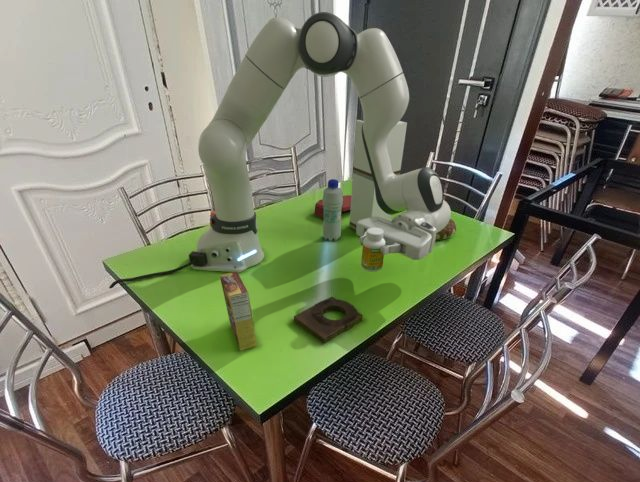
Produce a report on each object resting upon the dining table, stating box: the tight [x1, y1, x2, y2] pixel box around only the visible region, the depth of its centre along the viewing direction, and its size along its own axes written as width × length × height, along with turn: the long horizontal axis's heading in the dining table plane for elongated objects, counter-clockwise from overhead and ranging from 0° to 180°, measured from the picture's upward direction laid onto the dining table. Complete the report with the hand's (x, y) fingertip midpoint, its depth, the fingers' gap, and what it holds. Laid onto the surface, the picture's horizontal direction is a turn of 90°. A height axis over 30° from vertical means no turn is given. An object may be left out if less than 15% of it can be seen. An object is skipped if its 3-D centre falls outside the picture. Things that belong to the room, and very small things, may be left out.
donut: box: [435, 218, 457, 241], centre depth 129 cm, size 14×14×5 cm
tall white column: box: [349, 119, 408, 231], centre depth 122 cm, size 11×11×35 cm
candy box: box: [219, 272, 258, 352], centre depth 80 cm, size 9×4×15 cm, turn 24°
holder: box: [293, 295, 364, 345], centre depth 90 cm, size 14×11×2 cm
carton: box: [313, 194, 351, 220], centre depth 147 cm, size 12×5×25 cm
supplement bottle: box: [360, 228, 385, 273], centre depth 89 cm, size 5×5×10 cm
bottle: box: [322, 178, 344, 242], centre depth 121 cm, size 7×7×20 cm
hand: (371, 246), depth 88 cm, fingers closed on supplement bottle, 5 cm apart
